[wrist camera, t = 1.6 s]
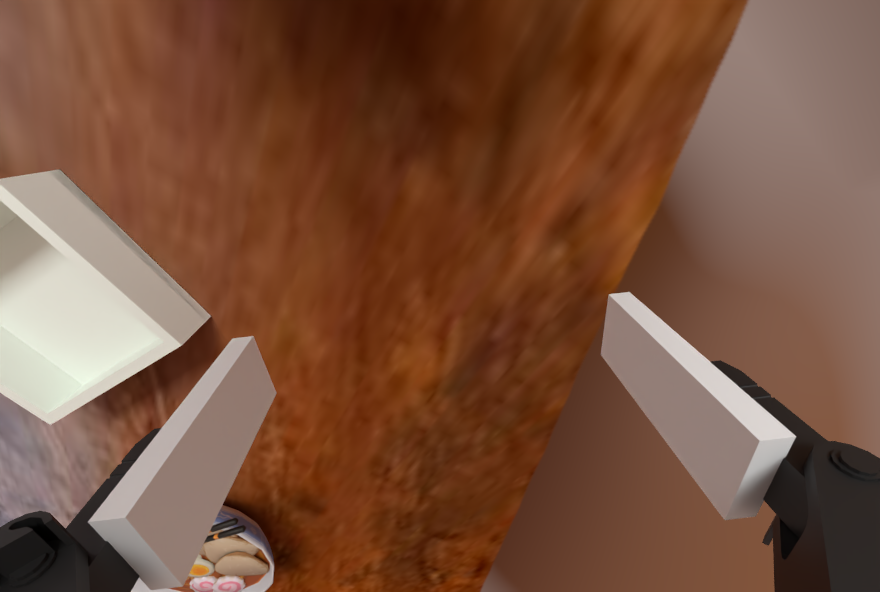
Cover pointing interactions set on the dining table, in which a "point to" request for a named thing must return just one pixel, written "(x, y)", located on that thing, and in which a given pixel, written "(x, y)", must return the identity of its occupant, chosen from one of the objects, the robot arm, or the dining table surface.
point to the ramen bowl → (228, 558)
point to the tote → (77, 299)
